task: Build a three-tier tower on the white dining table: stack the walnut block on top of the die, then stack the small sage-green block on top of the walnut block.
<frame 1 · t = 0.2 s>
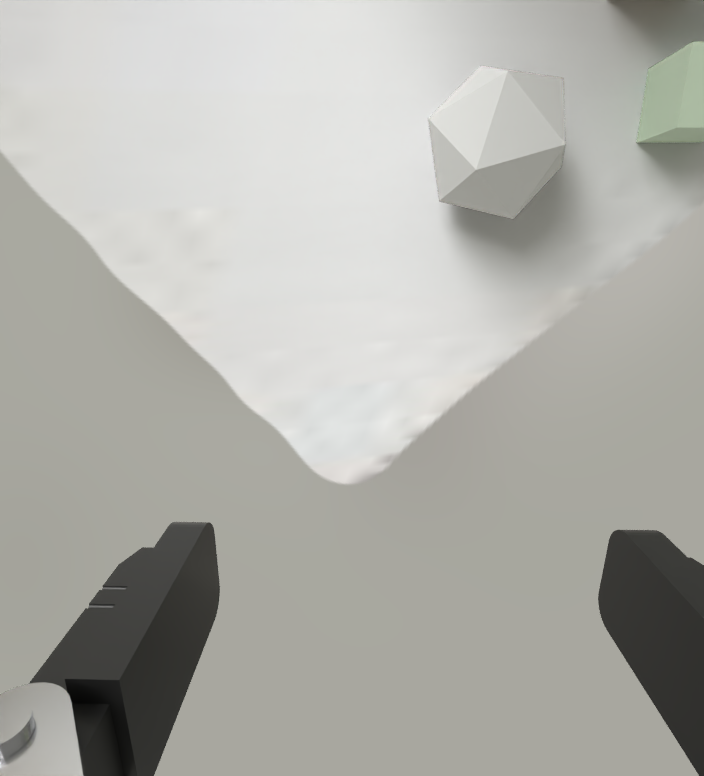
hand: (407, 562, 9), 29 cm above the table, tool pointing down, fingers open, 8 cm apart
die: (481, 155, 33), on the table
green block: (674, 106, 32), on the table
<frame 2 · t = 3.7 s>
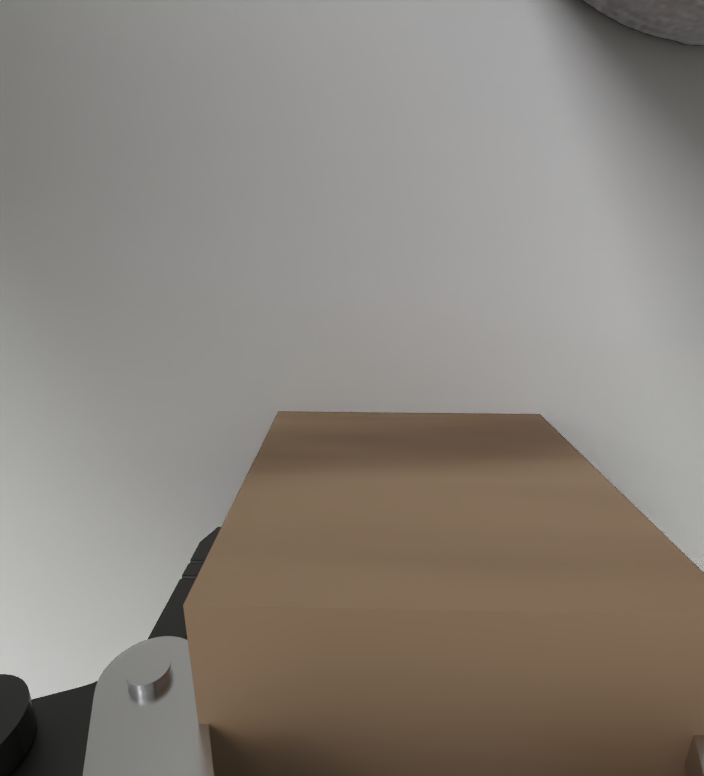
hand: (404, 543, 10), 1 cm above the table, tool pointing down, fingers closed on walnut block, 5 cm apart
walnut block: (403, 525, 11), on the table, touching gripper
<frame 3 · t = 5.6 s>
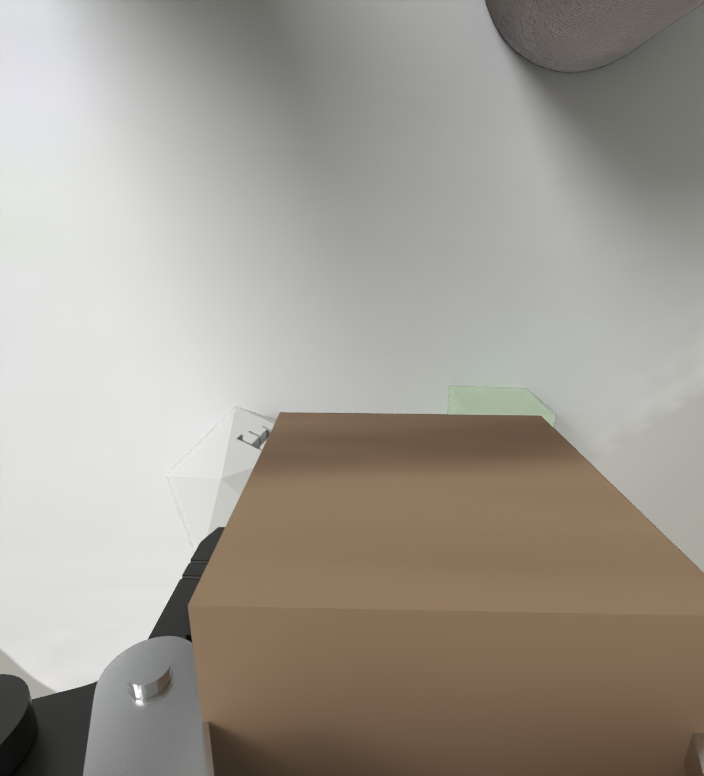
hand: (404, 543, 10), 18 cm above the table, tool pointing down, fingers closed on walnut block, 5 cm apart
die: (270, 458, 29), on the table
walnut block: (404, 526, 11), point 17 cm above the table, touching gripper
green block: (483, 421, 28), on the table
when the fingers open (10 cm above the table, at t = 8.0 s): walnut block drops 2 cm, resting on die.
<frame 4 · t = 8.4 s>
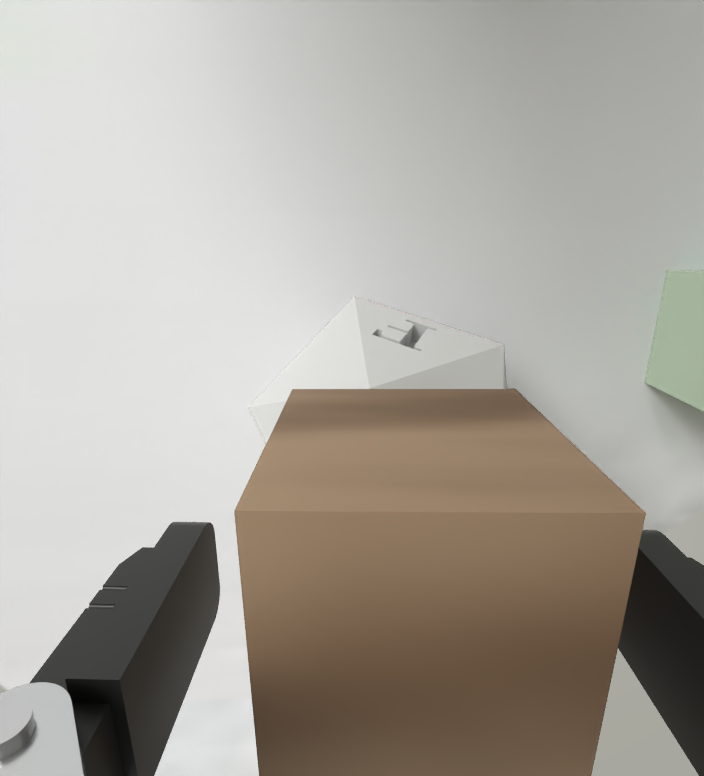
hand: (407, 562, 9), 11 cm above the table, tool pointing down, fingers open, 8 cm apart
die: (383, 396, 20), on the table, touching walnut block
walnut block: (400, 488, 12), point 8 cm above the table, touching die
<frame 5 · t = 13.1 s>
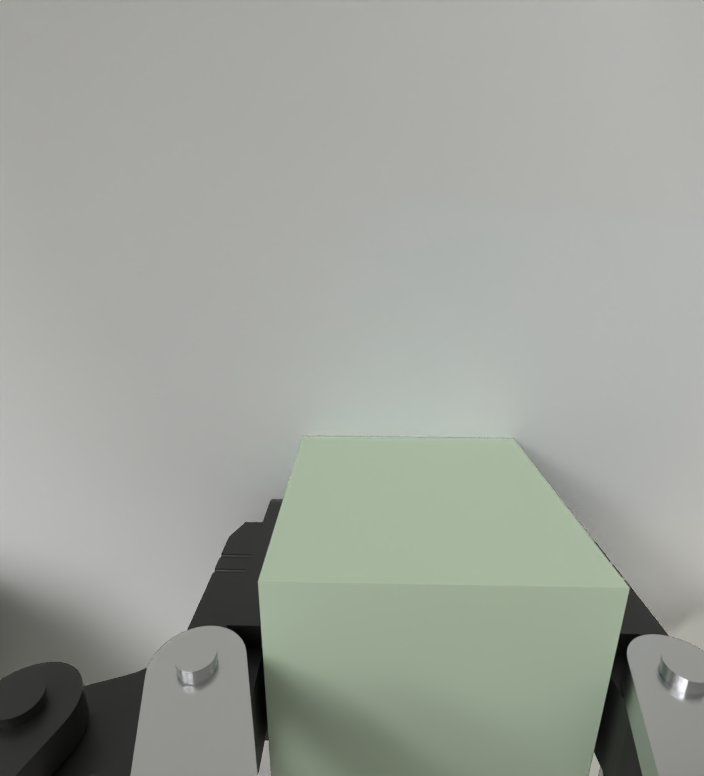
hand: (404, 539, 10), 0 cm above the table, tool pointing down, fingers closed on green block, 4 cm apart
green block: (403, 527, 11), on the table, touching gripper
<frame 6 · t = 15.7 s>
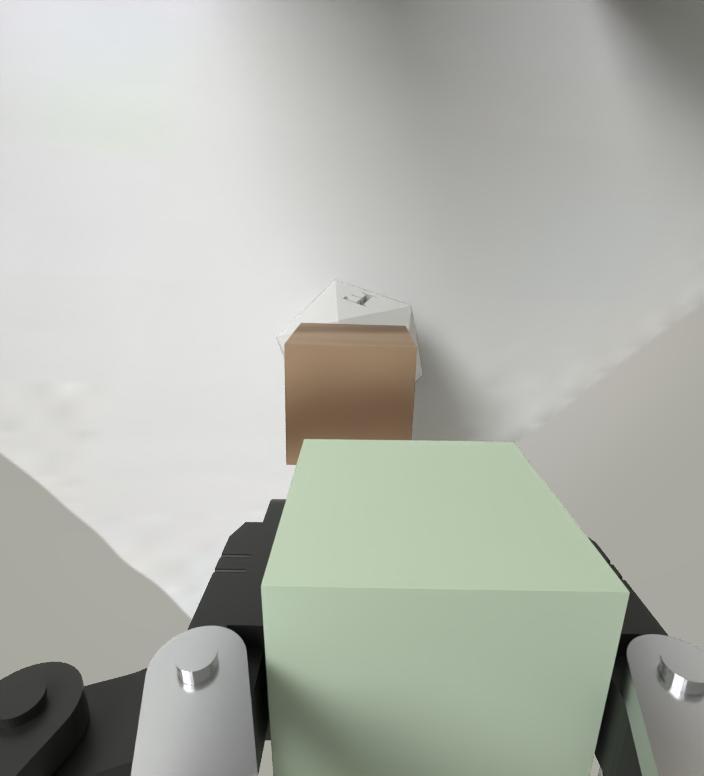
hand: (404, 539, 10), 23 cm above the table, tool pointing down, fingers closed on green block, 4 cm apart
die: (353, 343, 33), on the table, touching walnut block
walnut block: (351, 374, 25), point 8 cm above the table, touching die
green block: (404, 530, 11), point 23 cm above the table, touching gripper
when the fingers open (15 cm above the table, at t = 18.2 s): green block drops 1 cm, resting on walnut block.
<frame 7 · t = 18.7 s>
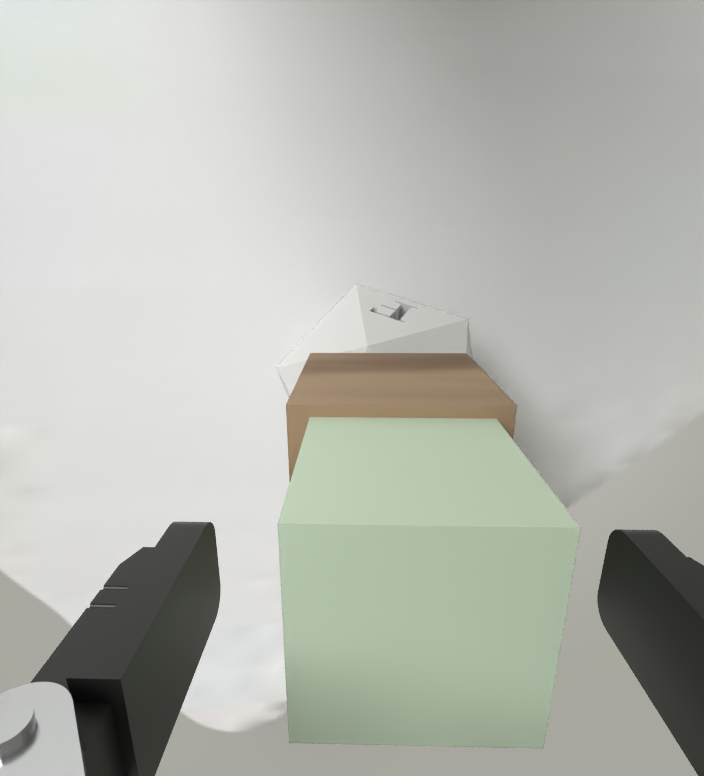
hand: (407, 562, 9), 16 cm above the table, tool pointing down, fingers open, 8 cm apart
die: (379, 366, 25), on the table, touching walnut block
walnut block: (386, 425, 17), point 8 cm above the table, touching die, green block
green block: (399, 500, 12), point 13 cm above the table, touching walnut block
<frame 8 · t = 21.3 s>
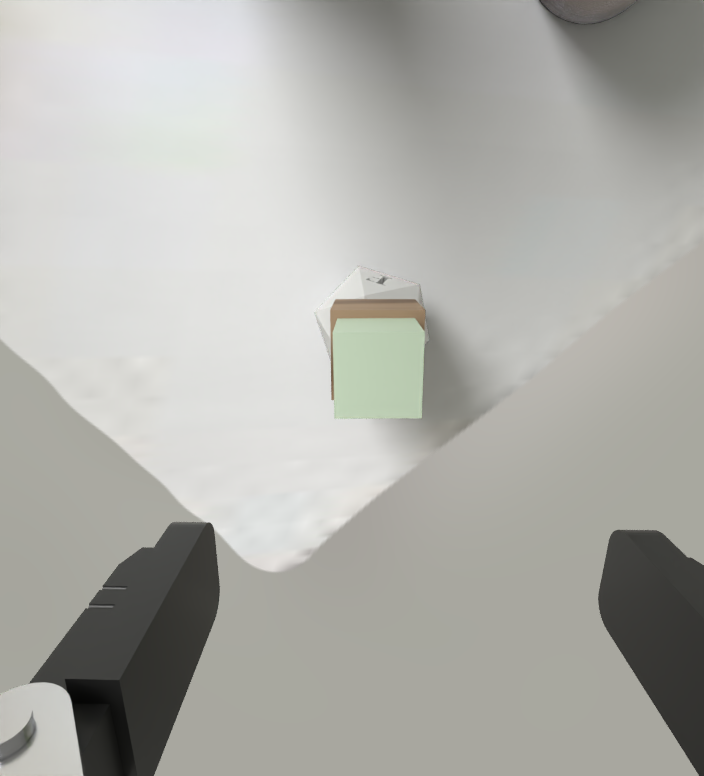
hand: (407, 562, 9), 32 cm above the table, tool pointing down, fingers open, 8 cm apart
die: (372, 318, 40), on the table, touching walnut block
walnut block: (374, 338, 33), point 8 cm above the table, touching die
green block: (375, 355, 28), point 13 cm above the table
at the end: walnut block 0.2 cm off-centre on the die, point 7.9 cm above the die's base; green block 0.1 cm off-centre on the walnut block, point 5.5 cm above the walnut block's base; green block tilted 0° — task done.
